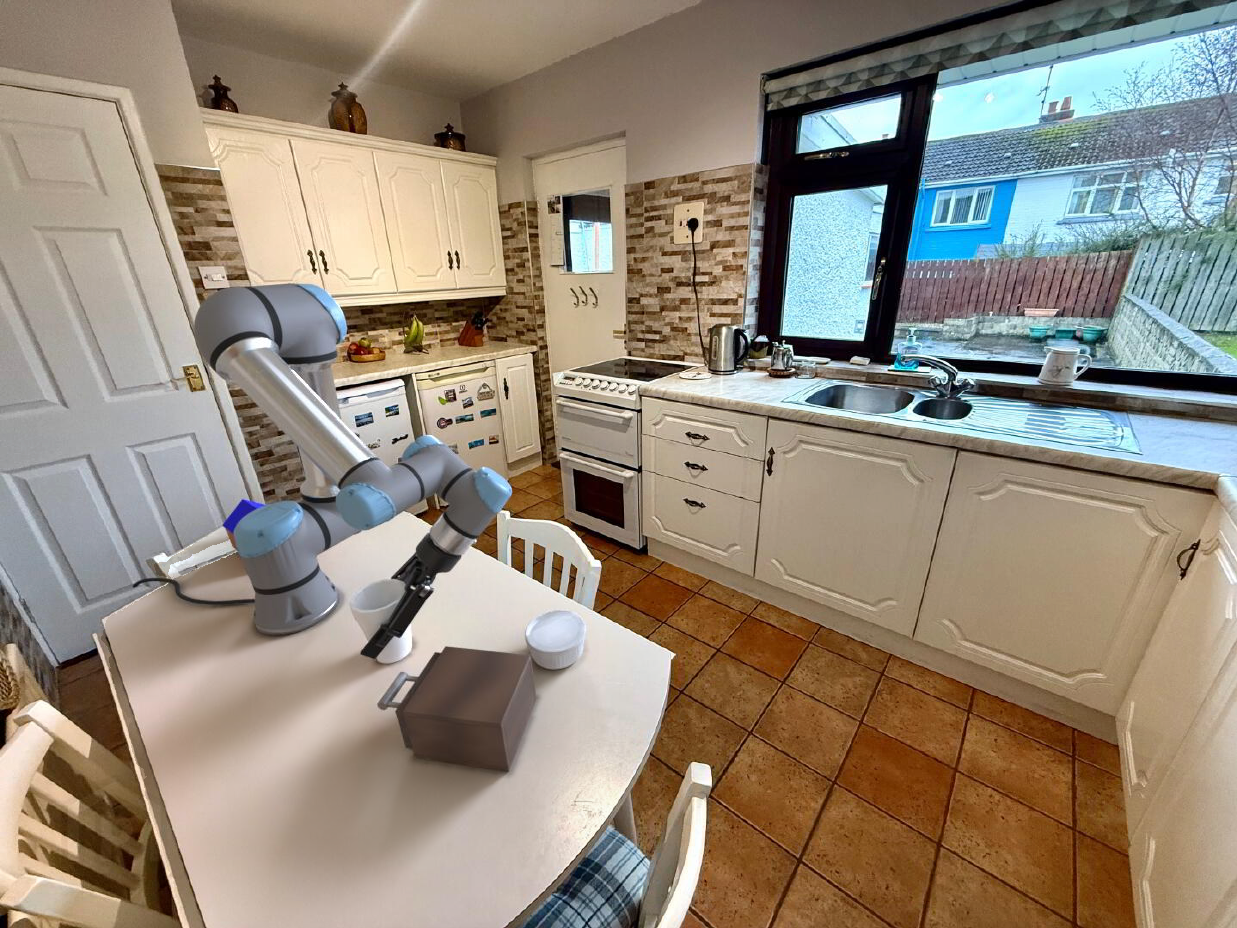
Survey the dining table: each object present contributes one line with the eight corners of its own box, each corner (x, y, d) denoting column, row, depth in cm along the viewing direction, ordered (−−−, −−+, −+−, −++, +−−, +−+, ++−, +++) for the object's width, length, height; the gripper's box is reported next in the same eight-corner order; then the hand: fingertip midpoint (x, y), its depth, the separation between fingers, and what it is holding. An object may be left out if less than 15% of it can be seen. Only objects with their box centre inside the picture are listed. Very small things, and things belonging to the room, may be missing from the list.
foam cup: (400, 673, 86) (384, 615, 81) (355, 666, 88) (337, 609, 83) (430, 635, 95) (417, 581, 90) (388, 630, 97) (373, 576, 92)
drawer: (373, 744, 73) (361, 706, 70) (414, 683, 83) (405, 648, 80) (491, 760, 70) (484, 722, 67) (518, 695, 80) (513, 660, 77)
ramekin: (545, 625, 97) (542, 603, 95) (596, 637, 93) (595, 615, 91) (516, 666, 87) (512, 643, 85) (572, 681, 84) (570, 658, 82)
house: (280, 527, 136) (268, 490, 131) (314, 549, 125) (301, 509, 120) (230, 547, 127) (215, 508, 122) (262, 572, 116) (246, 530, 112)
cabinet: (415, 758, 72) (402, 711, 68) (454, 688, 83) (445, 645, 79) (508, 771, 69) (500, 724, 66) (536, 698, 81) (530, 654, 77)
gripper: (468, 587, 80) (385, 687, 81) (459, 524, 99) (391, 607, 100) (428, 567, 76) (342, 673, 77) (426, 507, 95) (357, 592, 96)
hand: (370, 636), depth 89 cm, fingers closed on foam cup, 9 cm apart
